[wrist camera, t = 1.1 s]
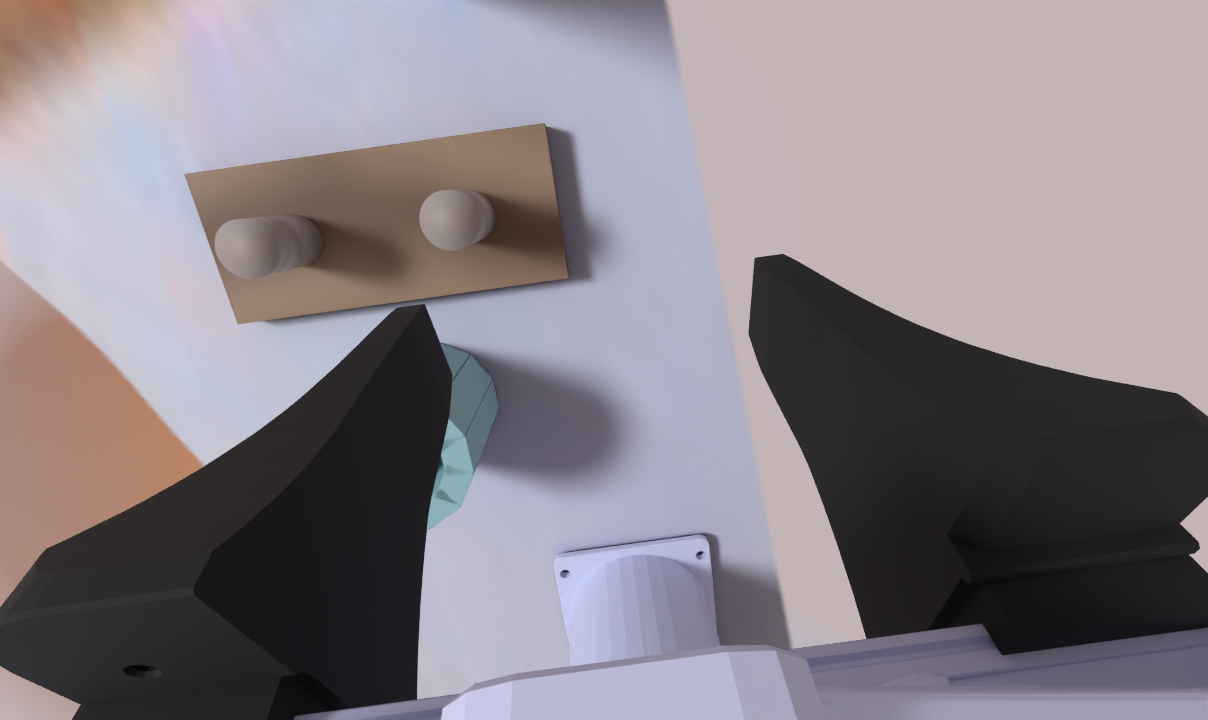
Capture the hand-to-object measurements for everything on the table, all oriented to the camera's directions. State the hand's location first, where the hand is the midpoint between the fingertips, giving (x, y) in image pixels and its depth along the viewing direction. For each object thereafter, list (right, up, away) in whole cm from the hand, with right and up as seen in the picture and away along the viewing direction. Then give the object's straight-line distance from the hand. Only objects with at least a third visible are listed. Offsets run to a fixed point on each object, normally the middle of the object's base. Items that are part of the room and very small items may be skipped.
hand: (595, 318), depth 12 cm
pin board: (-9, +5, +10) cm, 14 cm away
